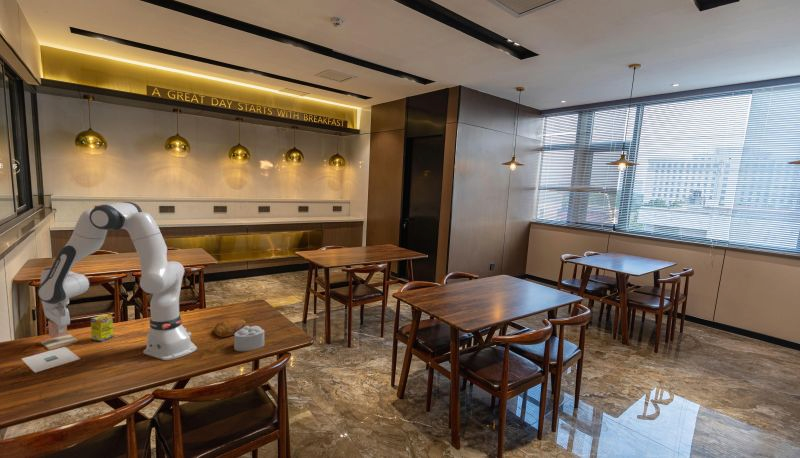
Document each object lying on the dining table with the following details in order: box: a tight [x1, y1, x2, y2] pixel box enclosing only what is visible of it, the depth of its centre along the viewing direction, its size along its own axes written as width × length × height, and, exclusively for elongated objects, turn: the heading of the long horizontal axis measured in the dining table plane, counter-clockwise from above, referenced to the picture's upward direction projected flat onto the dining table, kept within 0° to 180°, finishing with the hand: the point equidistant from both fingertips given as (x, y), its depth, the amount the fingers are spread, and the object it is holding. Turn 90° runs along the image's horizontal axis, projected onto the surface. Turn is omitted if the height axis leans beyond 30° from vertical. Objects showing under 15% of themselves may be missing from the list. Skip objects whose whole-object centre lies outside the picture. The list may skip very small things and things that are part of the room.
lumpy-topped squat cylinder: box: [233, 325, 265, 352], centre depth 173 cm, size 10×13×9 cm
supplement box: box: [90, 313, 114, 343], centre depth 172 cm, size 6×6×11 cm
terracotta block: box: [47, 319, 68, 339], centre depth 166 cm, size 5×5×7 cm
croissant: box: [213, 317, 247, 338], centre depth 188 cm, size 14×16×8 cm
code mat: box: [21, 346, 81, 373], centre depth 153 cm, size 18×14×1 cm
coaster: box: [40, 333, 78, 350], centre depth 167 cm, size 10×10×1 cm
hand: (58, 330), depth 166 cm, fingers closed on terracotta block, 5 cm apart
